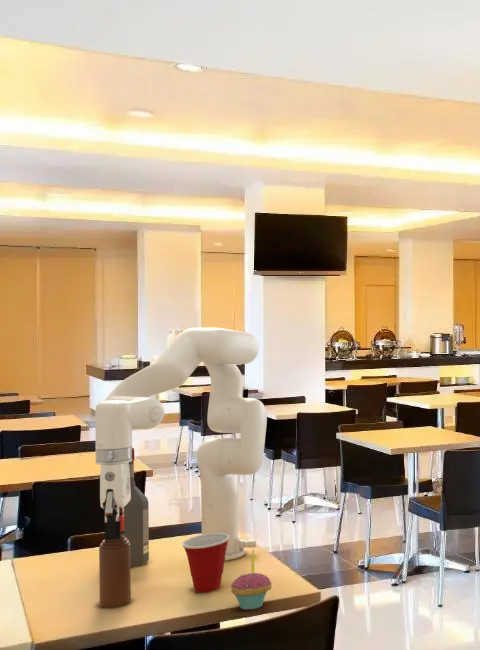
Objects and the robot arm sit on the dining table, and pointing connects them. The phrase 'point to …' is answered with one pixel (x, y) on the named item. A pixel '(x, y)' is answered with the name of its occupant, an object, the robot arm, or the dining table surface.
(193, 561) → the plastic cup
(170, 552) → the dining table surface
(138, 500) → the liquor
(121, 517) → the cap
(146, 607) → the dining table surface
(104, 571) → the sauce bottle
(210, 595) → the dining table surface
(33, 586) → the dining table surface
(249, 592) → the cupcake
